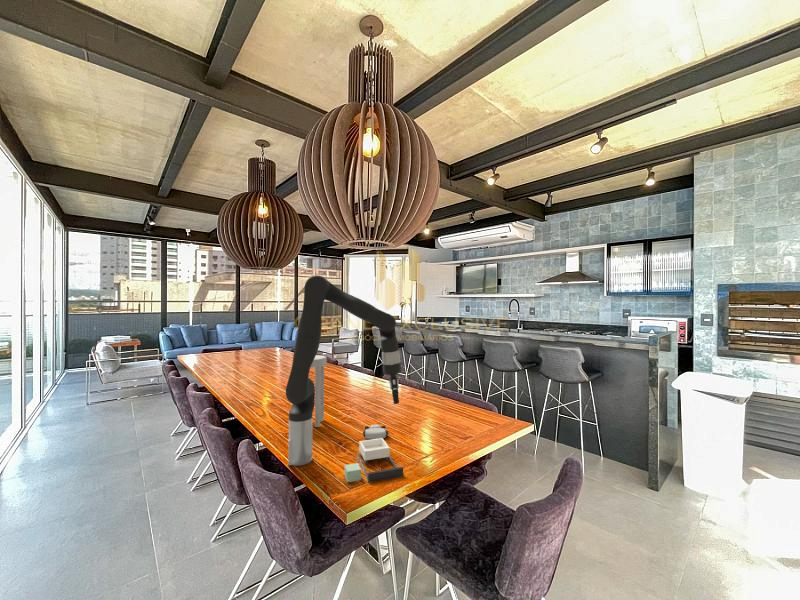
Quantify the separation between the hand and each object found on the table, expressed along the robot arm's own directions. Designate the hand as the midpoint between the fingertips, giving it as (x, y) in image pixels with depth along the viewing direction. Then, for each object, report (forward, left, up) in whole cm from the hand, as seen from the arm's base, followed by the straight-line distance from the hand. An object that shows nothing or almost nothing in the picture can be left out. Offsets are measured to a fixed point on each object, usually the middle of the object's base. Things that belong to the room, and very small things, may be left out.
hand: (395, 400), depth 139 cm
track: (-10, -7, -23) cm, 26 cm away
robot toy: (-3, +23, -24) cm, 33 cm away
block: (-21, -13, -24) cm, 34 cm away
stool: (-31, +50, -24) cm, 63 cm away
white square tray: (-10, -1, -22) cm, 24 cm away
